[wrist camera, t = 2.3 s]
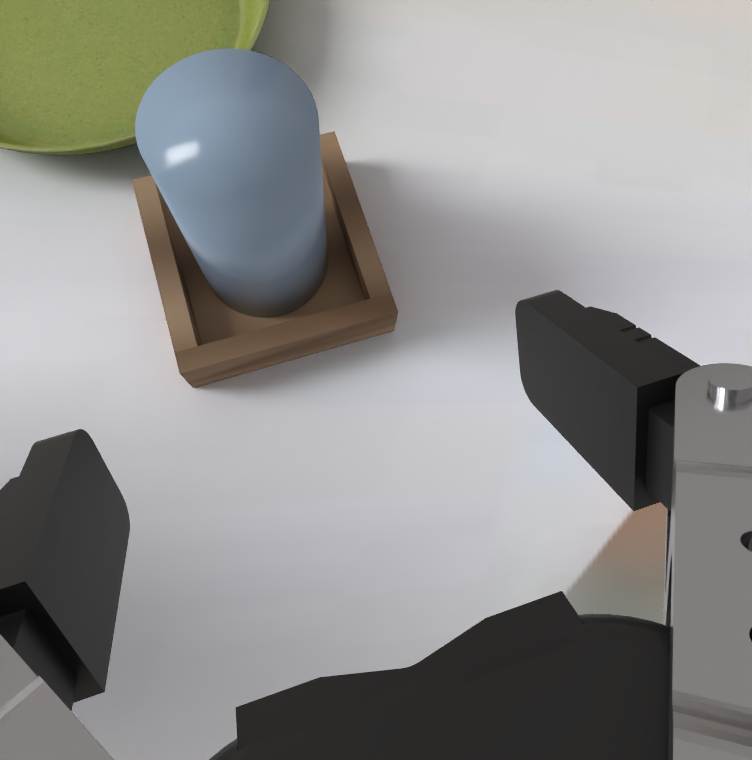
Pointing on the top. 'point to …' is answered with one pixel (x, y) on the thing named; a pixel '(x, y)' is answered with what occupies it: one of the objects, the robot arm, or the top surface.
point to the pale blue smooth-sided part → (240, 175)
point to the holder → (281, 333)
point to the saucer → (101, 63)
